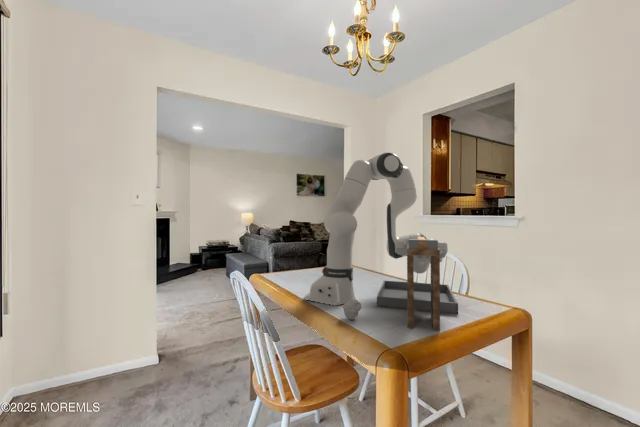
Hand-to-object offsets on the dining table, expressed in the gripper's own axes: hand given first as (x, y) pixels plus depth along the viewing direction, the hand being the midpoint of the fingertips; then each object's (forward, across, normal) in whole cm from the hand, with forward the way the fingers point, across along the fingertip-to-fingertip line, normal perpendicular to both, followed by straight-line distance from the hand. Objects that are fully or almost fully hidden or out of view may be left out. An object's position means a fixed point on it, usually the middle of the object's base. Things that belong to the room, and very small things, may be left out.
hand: (420, 240), depth 111 cm
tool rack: (-2, 0, +30) cm, 30 cm away
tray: (-26, -2, +16) cm, 31 cm away
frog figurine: (+1, -24, +32) cm, 40 cm away
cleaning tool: (+6, 0, +5) cm, 8 cm away
